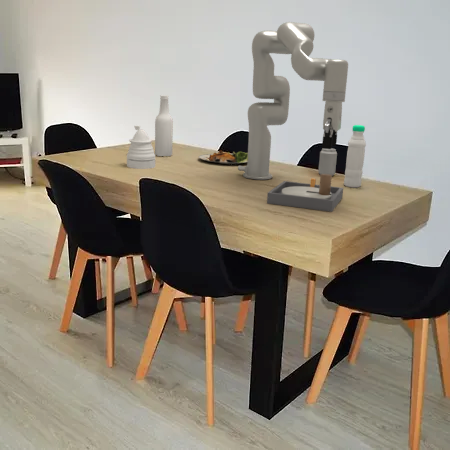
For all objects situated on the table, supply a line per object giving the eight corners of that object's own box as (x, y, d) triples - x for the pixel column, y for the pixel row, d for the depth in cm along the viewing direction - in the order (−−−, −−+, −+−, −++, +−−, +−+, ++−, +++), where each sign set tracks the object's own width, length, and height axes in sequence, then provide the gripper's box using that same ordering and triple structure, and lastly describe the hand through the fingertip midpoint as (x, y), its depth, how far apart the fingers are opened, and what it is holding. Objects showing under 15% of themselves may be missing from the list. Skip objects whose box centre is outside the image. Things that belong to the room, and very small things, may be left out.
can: (334, 177, 246) (337, 150, 242) (317, 175, 247) (320, 149, 244) (334, 174, 253) (337, 148, 249) (318, 172, 254) (320, 146, 251)
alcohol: (171, 157, 276) (172, 96, 268) (153, 156, 276) (154, 95, 268) (173, 154, 285) (174, 95, 276) (156, 153, 285) (156, 94, 276)
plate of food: (266, 162, 274) (266, 150, 273) (228, 168, 254) (229, 155, 253) (224, 156, 292) (224, 145, 291) (186, 161, 272) (186, 148, 271)
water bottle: (351, 188, 224) (358, 126, 217) (340, 184, 230) (346, 124, 223) (364, 187, 228) (371, 126, 221) (353, 183, 234) (359, 124, 226)
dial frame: (266, 203, 195) (268, 186, 193) (283, 190, 216) (284, 175, 214) (331, 211, 187) (333, 194, 185) (342, 197, 208) (344, 181, 207)
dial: (275, 197, 196) (277, 174, 193) (288, 188, 212) (289, 166, 209) (326, 204, 190) (328, 180, 187) (335, 193, 206) (337, 171, 204)
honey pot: (121, 166, 248) (120, 126, 242) (136, 162, 259) (136, 123, 254) (146, 169, 243) (146, 128, 238) (160, 165, 255) (160, 126, 249)
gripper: (341, 98, 180) (335, 151, 184) (348, 96, 195) (343, 144, 200) (318, 97, 182) (313, 149, 187) (327, 95, 198) (323, 143, 202)
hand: (329, 146), depth 193 cm, fingers open, 9 cm apart
